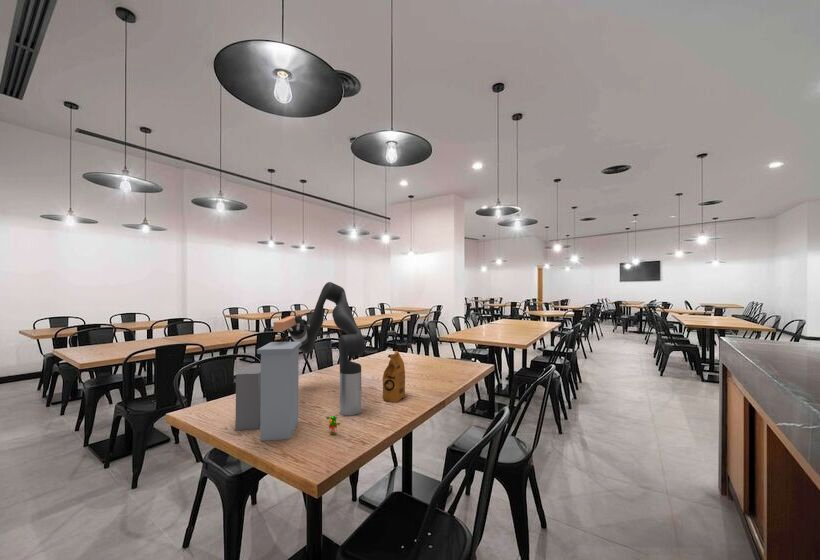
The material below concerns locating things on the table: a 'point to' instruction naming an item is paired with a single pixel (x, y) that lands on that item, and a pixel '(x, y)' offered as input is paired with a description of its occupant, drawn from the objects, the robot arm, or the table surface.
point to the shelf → (248, 397)
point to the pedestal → (279, 390)
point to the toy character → (333, 423)
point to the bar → (284, 323)
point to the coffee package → (394, 379)
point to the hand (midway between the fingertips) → (291, 317)
